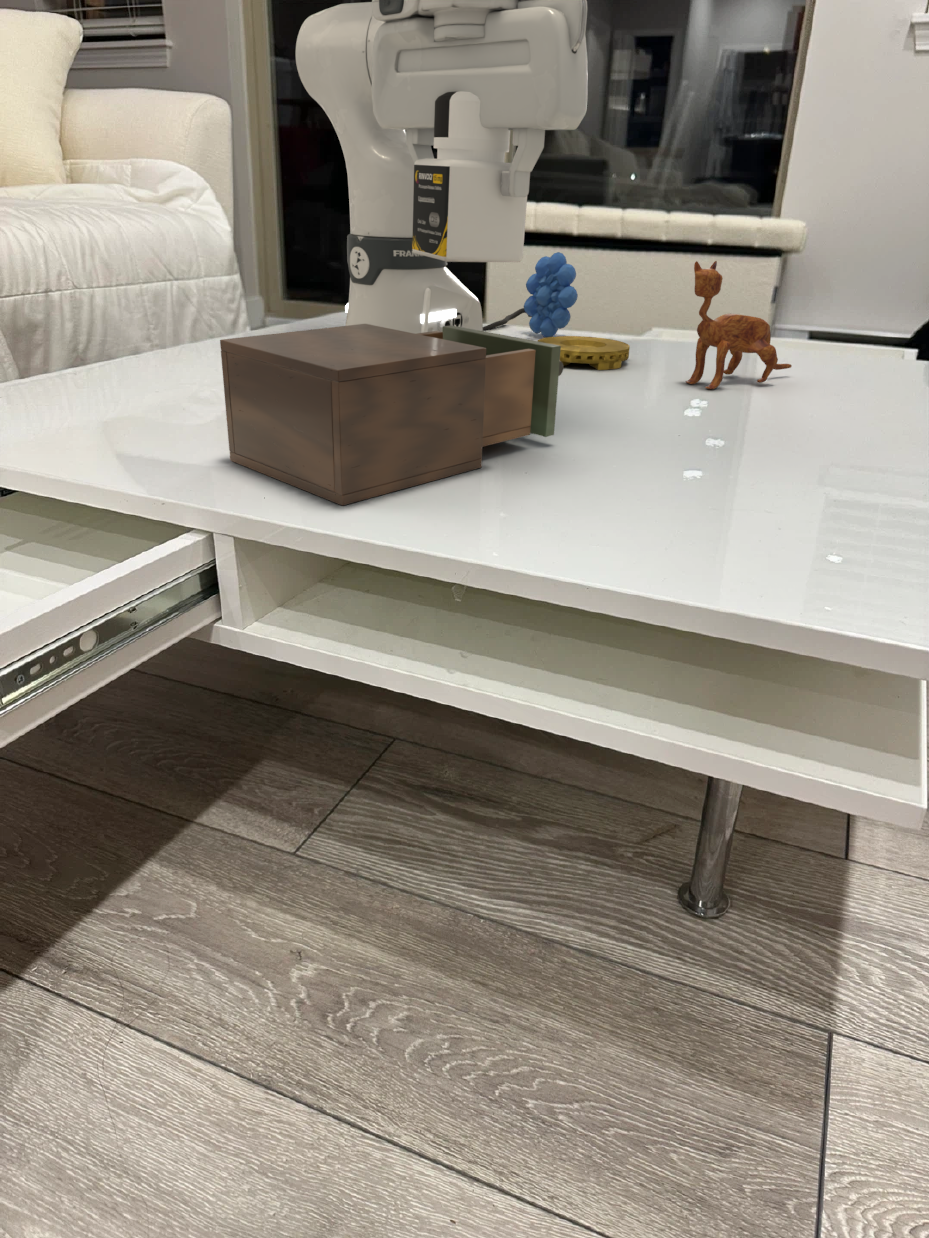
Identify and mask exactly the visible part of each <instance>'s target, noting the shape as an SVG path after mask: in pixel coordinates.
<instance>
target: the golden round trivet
mask: <svg viewBox="0 0 929 1238" xmlns="http://www.w3.org/2000/svg"><path fill="white" fill-rule="evenodd" d="M537 341H538V342H543V343H549V344H554V345H559V346H561V350H560V361H561V362H562V363H563V367H564V366H567V365H570V364H571V363H572V364H589V366H590V367H591V368H594V369H596V370H597V371H604V370H605V371H608V370H617V369H621V368H622V363H623V362H626V361H628V360H629V357H630V356H629V355H630V349H631V347H630V346H631V345H630V344H628V343H626V342H623V341H621V340H616V339H611V338H606V337H605V338H604V337H597V336H583V335H558V336H557V335H556V336H553V337H547V338H545V337H542V338H539V339H537Z"/></svg>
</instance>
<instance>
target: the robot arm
mask: <svg viewBox="0 0 929 1238" xmlns="http://www.w3.org/2000/svg"><path fill="white" fill-rule="evenodd" d="M587 18H588V1H587V0H371V1H365V2H350V3H347V2H346V3H340V4H337V5H334V6H331V7H329V8H325V9H323V10H320V11H318V12H316V13H313V14H311V15H309V16H308V17H307V18H306V19H304V21H303V22H302V24H301V26H300V29H299V31H298V34H297V38H296V43H295V64H296V65H295V66H296V69H297V72H298V77H299V79H300V81H301V83H302V85H303V87H304V89H305V90H306V92H307V94H308V95H309V96H310V97H311V98H312V99H313V100H314V101H315V102H316V103H317V104H318V105H319V106H320V107H321V108H322V110H323V111H324V112H325V114H326V116H327V117H328V119H329V121H330V122H331V124H332V127H333V129H334V131H335V133H336V135H337V137H338V138H337V139H338V140H339V144H340V146H341V150H342V153H343V157H344V161H345V168H346V173H347V187H348V188H347V189H348V199H349V200H348V201H349V203H348V204H349V224H350V226H349V227H350V228H349V229H350V232H349V234H347V236H346V238H347V239H346V255H347V256H346V260H347V262H346V263H347V267H348V272H349V292H348V302H347V303H346V305H345V306H344V310H345V311H344V312H345V313H346V320H345V325H344V326H349V325H358V324H369V325H374V326H379V327H384V328H389V329H394V330H399V331H404V332H409V333H414V334H417V333H425V332H433V331H440V332H442V328H443V326H450V325H452V326H458V327H463V328H468V329H474V330H479V331H484V332H486V331H491V330H493V329H495V328H498V327H500V326H504V325H506V324H507V323H509V321H511V320H514V319H516V318H517V317H518V316H520V315H522V314H526V315H527V313H526V312H525V310H524V307H522V308H519V309H518V310H516V311H514V312H513V313H511V314H508V315H507V316H505V317H504V318H503V319H500V320H497V321H495V322H492V323H490V324H487V325H484V323H483V311H482V310H483V309H482V306H481V302H480V300H479V298H478V297H477V296H476V295H475V294H474V293H473V292H472V291H470V290H469V288H468V287H467V286H465V285H464V283H462V281H460V279H458V277H457V276H456V275H455V274H454V273H453V272H451V270H450V269H449V268H448V267H447V266H448V262H446V261H442V260H439V259H435V258H431V257H427V256H423V255H419V254H416V253H414V252H413V250H412V240H413V194H414V163H415V161H416V160H419V159H426V158H429V159H435V156H434V153H433V150H432V146H433V147H434V117H435V101H436V99H437V98H438V97H439V96H441V95H443V94H445V93H446V92H456V91H463V92H471V93H472V94H474V95H476V96H477V97H478V98H479V100H480V115H479V116H480V122H481V125H482V126H483V127H484V128H508V130H510V131H512V141H511V143H512V145H513V146H514V147H515V146H516V147H517V148H516V151H515V153H514V156H513V157H512V161H511V162H510V163H511V166H510V169H509V171H501V182H502V185H501V186H500V192H501V194H502V196H510V197H526V196H527V197H528V195H529V193H530V183H531V182H530V181H531V180H530V179H531V173H532V172H533V169H534V167H535V165H536V164H537V162H538V160H539V159H540V156H541V154H542V153H543V150H544V149H545V138H546V137H545V136H546V131H574V130H576V129H577V128H579V126H580V124H581V122H582V121H583V119H584V117H585V116H586V113H587V109H588V108H587V107H588V106H587V105H588V51H587V38H586V37H587V36H586V30H587V22H588V21H587V20H588V19H587ZM527 317H528V318H531V317H532V316H529V315H527ZM483 325H484V326H483Z"/></svg>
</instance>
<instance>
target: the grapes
mask: <svg viewBox="0 0 929 1238" xmlns="http://www.w3.org/2000/svg"><path fill="white" fill-rule="evenodd" d="M534 270H535V273H533V274H531V275H530V276H529V277H528V279H527V281H526V282H525V288H526V290H527V292H528V293H529V294H530V296H529V297H528V298H527V299H526V300H525V301H524V302H523V303H524V304H523V308H524V310H525V312H526V313H527V314H526V313H525V314H526V315H527V316H528V315H529V316H532V317H530V319H529V321H528V326H529V328H530V330H531V331H532V333H534V334H541V335H542V337H543V338H547V337H555V335H556V334H558V331H559V330H560V329H565V328H566V326H568V324H569V323H570V321H571V319H572V318H571V316H572V315H571V313H570V310H569V308H572V307H573V306H574V305H575V304H576V303H577V300H578V298H579V297H578V291H577V289H576V288H575V287H574V286H572V284H573V282H574V281H575V279H576V276H577V272H576V268H575V266H573V265H572V264H570V263H568V262H567V258H566V256H565V255H564V253H563V252H560V251H557V252H553V254H552V255H551V256H547V255H545V256H542V257H540V259H538V260H537V262H536V264H535V266H534Z"/></svg>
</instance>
